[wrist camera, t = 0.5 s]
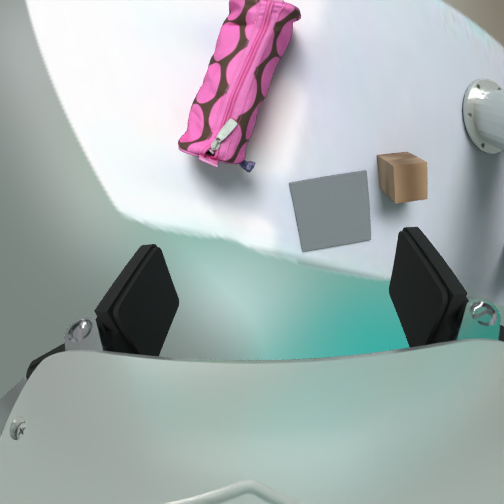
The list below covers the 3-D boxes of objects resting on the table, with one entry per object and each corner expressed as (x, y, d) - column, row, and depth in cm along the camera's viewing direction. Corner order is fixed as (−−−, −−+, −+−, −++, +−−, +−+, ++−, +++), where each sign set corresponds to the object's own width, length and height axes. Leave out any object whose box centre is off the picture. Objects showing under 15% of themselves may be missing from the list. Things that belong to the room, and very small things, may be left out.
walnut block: (407, 151, 33) (427, 162, 28) (408, 184, 35) (427, 198, 30) (376, 155, 34) (393, 166, 29) (379, 188, 36) (395, 203, 31)
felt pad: (365, 170, 35) (366, 171, 35) (370, 238, 40) (371, 239, 40) (289, 182, 37) (289, 184, 37) (302, 249, 42) (302, 251, 42)
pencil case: (255, 161, 36) (249, 184, 27) (187, 142, 35) (160, 159, 27) (305, 20, 25) (316, -4, 16) (232, 2, 24) (218, -26, 15)
